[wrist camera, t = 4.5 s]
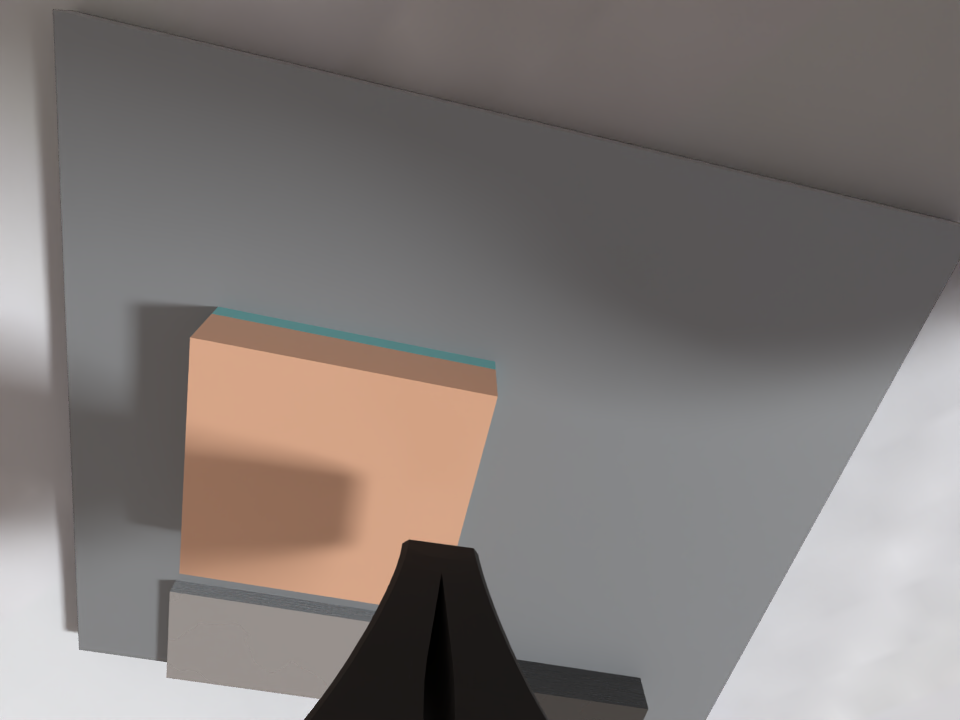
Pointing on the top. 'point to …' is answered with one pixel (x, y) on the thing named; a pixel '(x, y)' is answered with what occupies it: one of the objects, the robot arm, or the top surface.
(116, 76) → the board
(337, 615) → the bar
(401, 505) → the tile
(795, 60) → the top surface
